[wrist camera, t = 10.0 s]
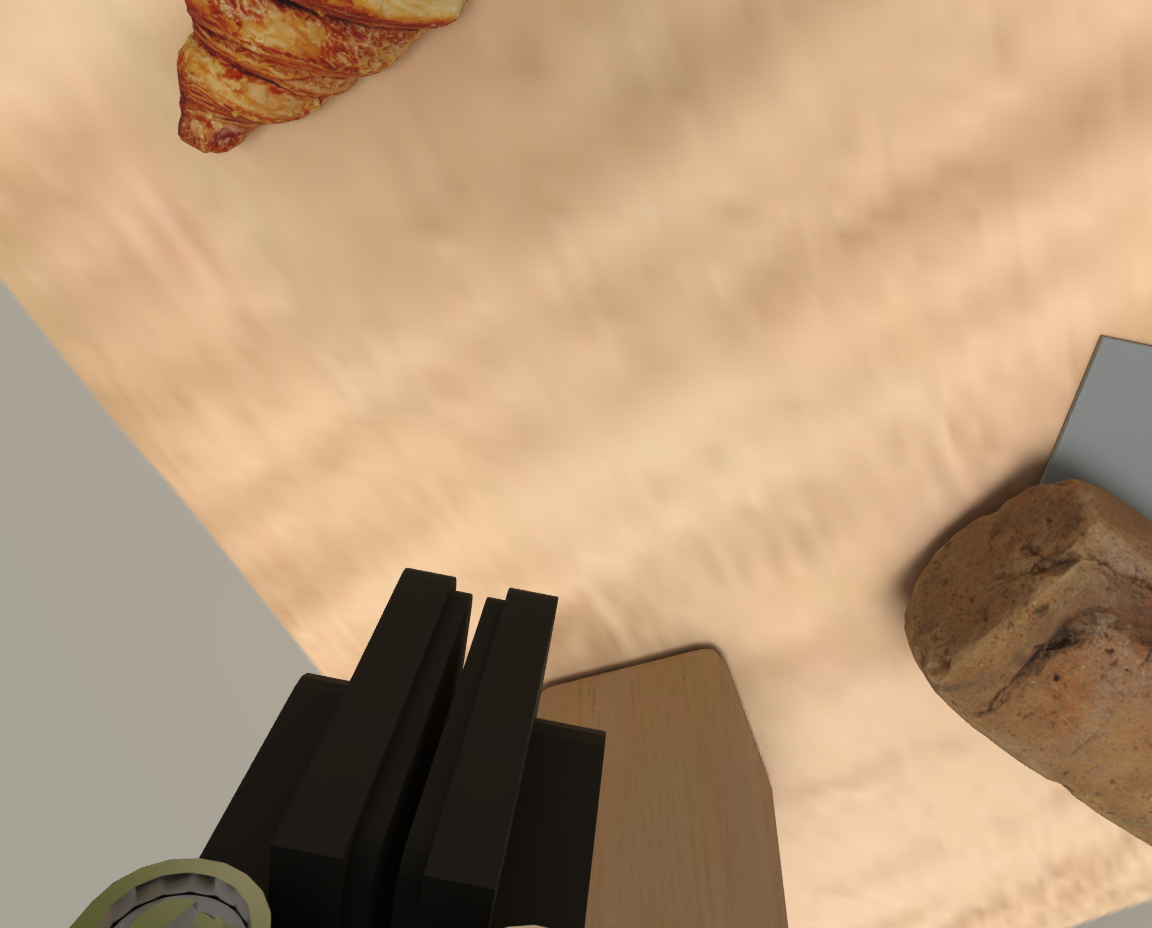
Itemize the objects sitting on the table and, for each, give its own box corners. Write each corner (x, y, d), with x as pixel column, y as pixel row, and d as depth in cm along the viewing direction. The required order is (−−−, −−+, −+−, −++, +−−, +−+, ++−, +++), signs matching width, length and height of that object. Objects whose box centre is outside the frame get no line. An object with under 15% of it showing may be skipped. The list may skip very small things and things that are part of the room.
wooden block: (596, 828, 57) (557, 1220, 39) (530, 683, 53) (454, 1039, 35) (775, 790, 55) (823, 1185, 37) (719, 635, 51) (742, 989, 33)
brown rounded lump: (874, 597, 49) (1162, 804, 53) (909, 702, 42) (1235, 928, 47) (1054, 433, 45) (1351, 673, 49) (1126, 520, 38) (1461, 789, 42)
